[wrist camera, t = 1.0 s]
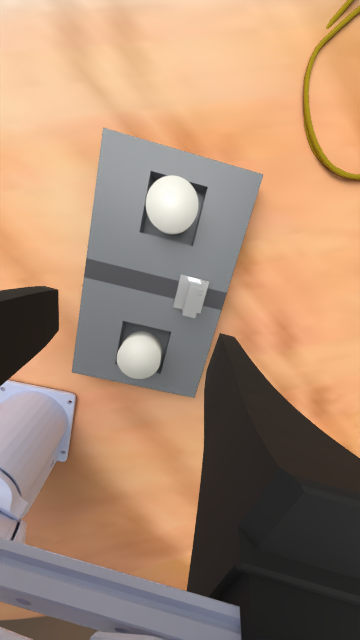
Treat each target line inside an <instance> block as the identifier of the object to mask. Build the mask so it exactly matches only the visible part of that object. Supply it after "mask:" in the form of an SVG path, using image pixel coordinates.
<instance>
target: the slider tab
mask: <svg viewBox="0 0 360 640" xmlns="http://www.w3.org/2000/svg"><path fill="white" fill-rule="evenodd" d="M208 285H209V281H206V280H202V279H198V278H194V277H190V276H186V275H182V274H181V276H180V280H179V285H178V289H177V293H176V297H175V301H174V305H173V307H175V308H179V309H182V315H183V316H187V317H191V318H195V317H196V314H197V313H201V309H202V306H203V302H204V299H205V295H206V292H207V288H208Z"/></svg>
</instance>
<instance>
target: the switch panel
mask: <svg viewBox="0 0 360 640" xmlns="http://www.w3.org/2000/svg"><path fill="white" fill-rule="evenodd" d="M170 175H174V176H179V177H182V178H184V179H185V180H187V181H188V182H189V183H190V184H191V185H192V186H193V188H194V189H195V191H196V194H197V197H198V212H197V216H196V218H195V220H194V221H193V223H192V225H191V226H190V227H189V228H188V229H187V230H186V231H184V232H182V233H179V234H174V235H173V234H166V233H164V232H162V231H160V230H159V229H158V228H157V227H155V226H154V225H153V223H152V222H151V221H150V219H149V217H148V214H147V211H146V197H147V194H148V191H149V189H150V187H151V186H152V185H153V184H154V183H155V182H156V181H157V180H158V179H160V178H162V177H164V176H170ZM262 177H263V174H260V173H257V172H253V171H250V170H246V169H243V168H240V167H236V166H233V165H229V164H226V163H222V162H219V161H216V160H212V159H209V158H205V157H202V156H199V155H195V154H192V153H188V152H185V151H181V150H178V149H175V148H171V147H168V146H164V145H161V144H158V143H154V142H151V141H147V140H144V139H140V138H137V137H134V136H130V135H127V134H123V133H120V132H117V131H113V130H110V129H106V128H103V133H102V141H101V149H100V157H99V165H98V172H97V180H96V188H95V196H94V204H93V212H92V219H91V227H90V235H89V243H88V251H87V258H86V266H85V274H84V282H83V290H82V297H81V305H80V313H79V321H78V329H77V336H76V344H75V352H74V360H73V368H72V373H77V374H82V375H87V376H92V377H96V378H101V379H106V380H111V381H116V382H121V383H125V384H130V385H135V386H140V387H145V388H149V389H154V390H159V391H164V392H169V393H173V394H178V395H183V396H188V397H193V398H194V397H195V394H196V391H197V388H198V384H199V381H200V378H201V375H202V372H203V368H204V365H205V362H206V359H207V355H208V352H209V349H210V346H211V342H212V339H213V336H214V333H215V329H216V326H217V323H218V320H219V317H220V313H221V310H222V307H223V304H224V300H225V297H226V294H227V291H228V287H229V284H230V281H231V278H232V274H233V271H234V268H235V265H236V262H237V258H238V255H239V252H240V249H241V245H242V242H243V239H244V236H245V232H246V229H247V226H248V223H249V219H250V216H251V213H252V210H253V207H254V203H255V200H256V197H257V194H258V190H259V187H260V184H261V181H262ZM181 274H182V275H186V276H190V277H194V278H198V279H202V280H206V281H209V285H208V288H207V292H206V295H205V299H204V302H203V306H202V309H201V313H197V314H196V317H195V318H191V317H187V316H183V315H182V309H179V308H175V307H173V305H174V301H175V297H176V293H177V289H178V285H179V280H180V276H181ZM137 331H145V332H149V333H151V334H153V335H154V336H156V337H157V339H158V340H159V341H160V343H161V347H162V354H161V361H160V366H159V368H158V370H157V371H156V372H155V373H154V374H153V375H152V376H150V377H148V378H145V379H134V378H131V377H129V376H127V375H125V374H124V373H123V372H122V371H121V370H120V368H119V366H118V364H117V353H118V351H119V349H120V347H121V345H122V344H123V342H124V340H125V339H126V337H127V336H128V335H130V334H131V333H134V332H137Z"/></svg>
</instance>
